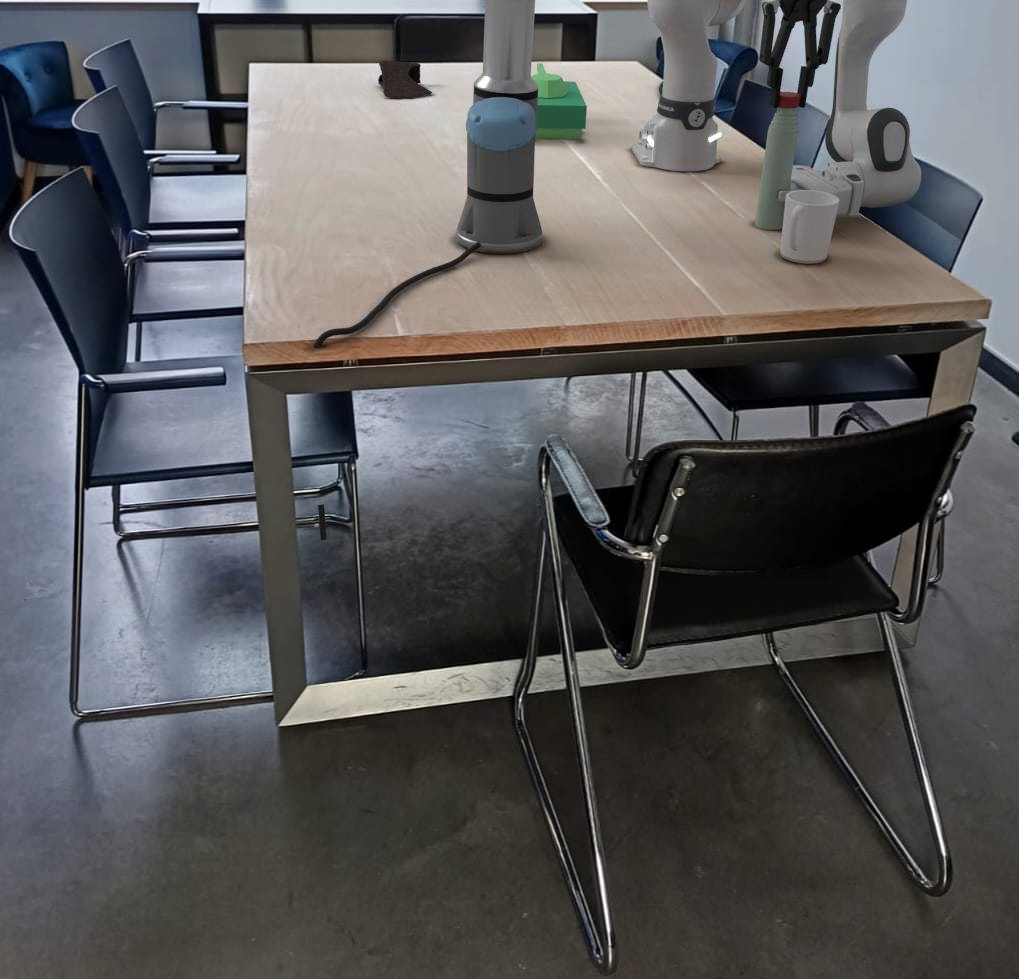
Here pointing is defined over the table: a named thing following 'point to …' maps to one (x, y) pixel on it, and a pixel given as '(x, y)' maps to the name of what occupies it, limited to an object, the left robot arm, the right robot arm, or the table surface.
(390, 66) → the axe head
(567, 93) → the toy tank
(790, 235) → the mug
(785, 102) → the cap
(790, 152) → the bottle
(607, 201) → the table surface
